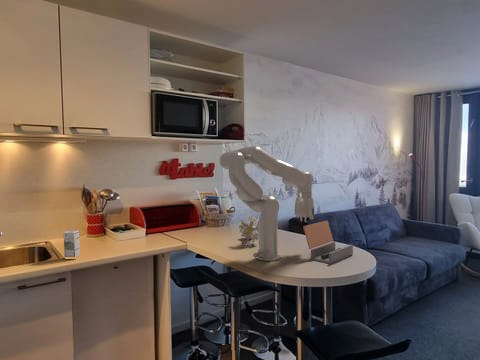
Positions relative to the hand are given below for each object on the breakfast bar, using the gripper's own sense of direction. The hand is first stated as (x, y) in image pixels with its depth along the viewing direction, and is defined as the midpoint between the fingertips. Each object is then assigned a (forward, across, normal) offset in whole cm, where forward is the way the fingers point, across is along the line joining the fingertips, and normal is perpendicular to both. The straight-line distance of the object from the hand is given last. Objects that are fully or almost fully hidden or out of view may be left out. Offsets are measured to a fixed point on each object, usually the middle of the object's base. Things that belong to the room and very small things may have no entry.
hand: (304, 229), depth 181 cm
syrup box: (+12, -84, -90) cm, 124 cm away
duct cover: (+1, +9, 0) cm, 9 cm away
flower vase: (+12, -38, -3) cm, 40 cm away
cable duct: (+12, +16, 0) cm, 20 cm away
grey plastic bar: (+12, +16, 0) cm, 20 cm away
